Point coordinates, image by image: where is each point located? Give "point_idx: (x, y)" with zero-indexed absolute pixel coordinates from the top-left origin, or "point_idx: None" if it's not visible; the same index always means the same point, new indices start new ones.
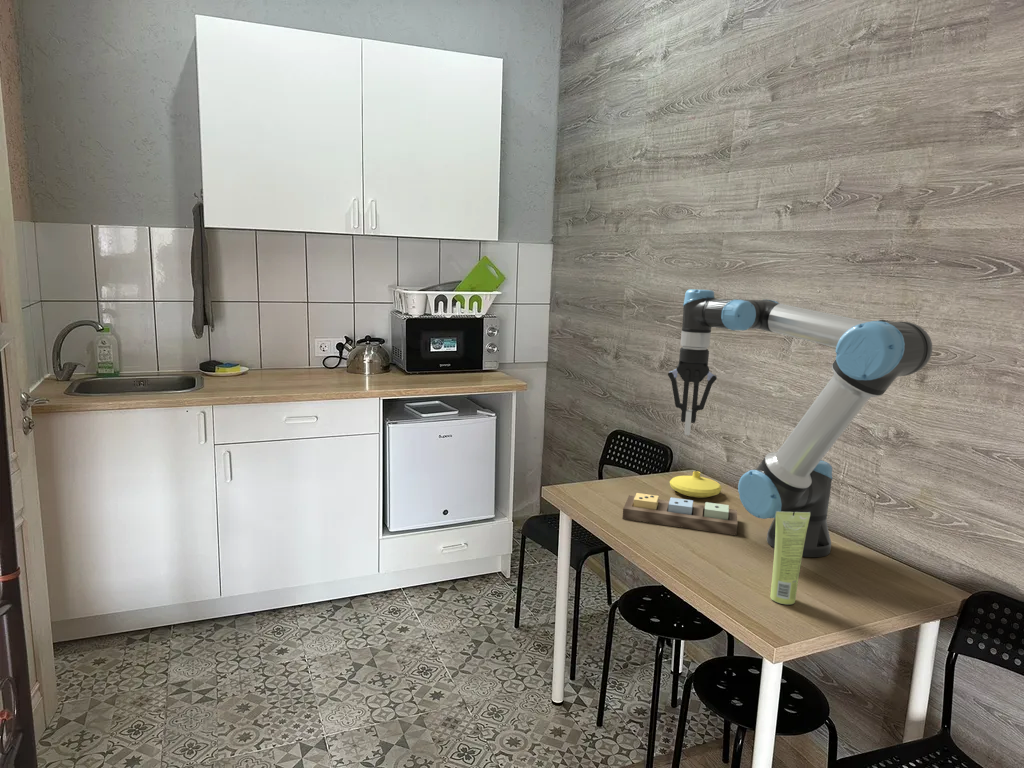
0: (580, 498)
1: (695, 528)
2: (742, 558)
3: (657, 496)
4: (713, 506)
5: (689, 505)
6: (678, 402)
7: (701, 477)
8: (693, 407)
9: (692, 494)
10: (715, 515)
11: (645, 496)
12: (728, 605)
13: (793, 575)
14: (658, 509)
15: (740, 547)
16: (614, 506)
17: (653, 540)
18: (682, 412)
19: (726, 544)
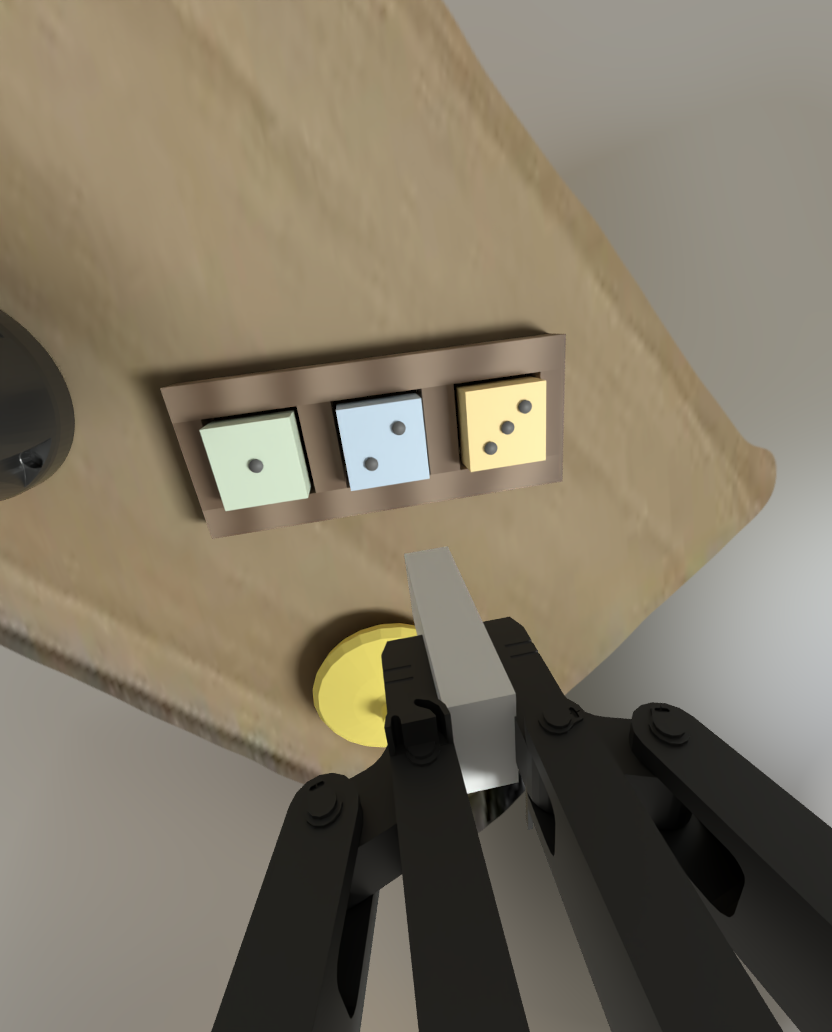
0: (688, 450)
1: (312, 365)
2: (72, 134)
3: (473, 462)
4: (269, 466)
5: (349, 426)
6: (693, 775)
7: (380, 724)
8: (438, 772)
9: (384, 624)
10: (250, 419)
11: (511, 431)
12: None
13: None
14: (450, 393)
15: (122, 263)
16: (585, 437)
17: (417, 158)
18: (548, 686)
19: (175, 267)
